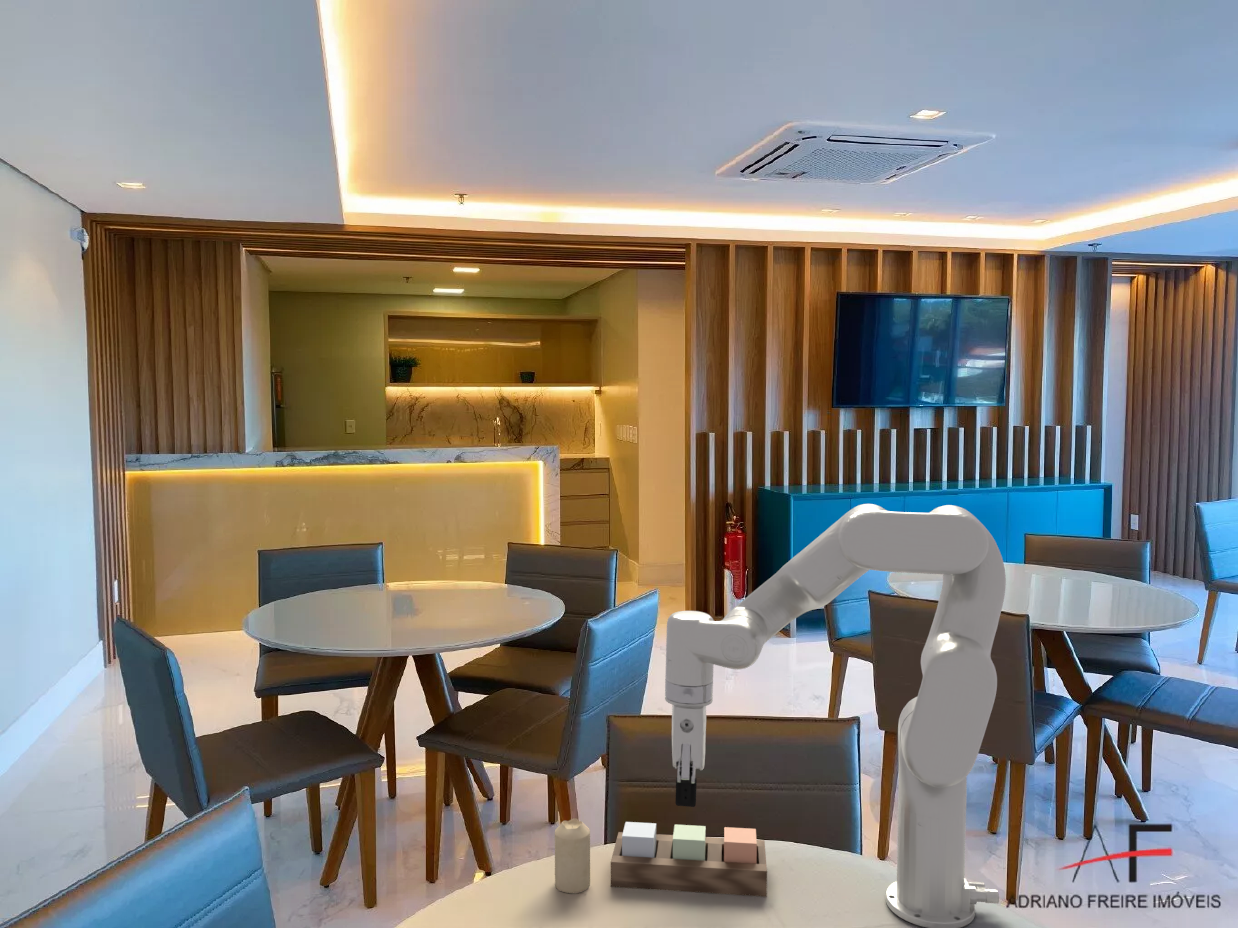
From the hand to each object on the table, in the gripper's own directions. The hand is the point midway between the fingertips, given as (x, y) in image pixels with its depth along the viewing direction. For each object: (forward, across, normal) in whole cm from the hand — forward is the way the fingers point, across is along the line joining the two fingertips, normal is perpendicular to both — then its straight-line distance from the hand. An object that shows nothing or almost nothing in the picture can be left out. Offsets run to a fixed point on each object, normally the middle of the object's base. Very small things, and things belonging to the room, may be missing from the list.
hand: (685, 803), depth 143 cm
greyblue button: (+9, 0, +7) cm, 12 cm away
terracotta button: (+9, 0, -9) cm, 13 cm away
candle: (+12, -5, +17) cm, 22 cm away
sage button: (+9, 0, -1) cm, 9 cm away
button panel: (+12, 0, -1) cm, 12 cm away
